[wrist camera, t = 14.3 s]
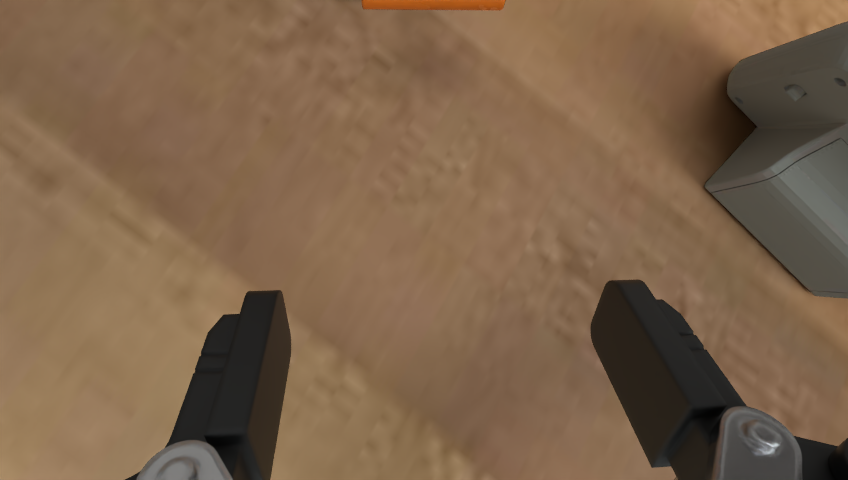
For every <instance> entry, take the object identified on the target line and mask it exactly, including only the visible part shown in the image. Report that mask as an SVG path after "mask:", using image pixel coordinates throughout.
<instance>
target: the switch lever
mask: <svg viewBox="0 0 848 480" xmlns="http://www.w3.org/2000/svg"><path fill="white" fill-rule="evenodd" d="M505 1H506V0H362V7H363V9H391V10H502V9H503V7H504V4H505Z"/></svg>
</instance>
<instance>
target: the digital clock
mask: <svg viewBox="0 0 848 480" xmlns="http://www.w3.org/2000/svg"><path fill="white" fill-rule="evenodd" d="M727 94H728V96H729V98H730V99H731V100H732V101H733V102H734V103H735V104H736V105H737V106H738V107H739V108H740V109H741V110H742V111H743V112H744V113H745V114H746V115H747V116H748V117H749V118H750V119H751V121H752V122H753V123H754V124H755V125H756V126H757V127H756V129H755V130H754V131H753V132H752V133H751V134H750V135H749V136H748V137H747V138H746V140H745V141H744V142H743V143H742V144H741V145H740V146H739V147H738V148H737V149H736V151H735V152H734V153H733V154H732V155H731V156H730V157H729V158H728V159H727V160H726V161H725V163H724V164H723V165H722V166H721V167H720V168H719V169H718V170H717V171H716V172H715V173H714V175H713V176H712V177H711V178H710V179H709V180H708V181H707V182H706V184H705V188H706V189H707V190H708V191H709V192H710V193H711V194H712V195H713V196H714V197H715V198H716V199H717V200H718V201H719V202H720V203H721V204H722V205H723V206H724V207H725V208H726V209H727V210H728V211H729V212H730V213H731V214H732V215H733V216H734V217H735V218H736V219H737V220H738V221H739V222H740V223H742V224H743V225H744V226H745V227H746V228H747V229H748V230H749V231H750V232H751V233H752V234H753V235H754V236H755V237H756V238H757V239H758V240H759V241H760V242H761V243H762V244H763V245H764V246H765V247H766V248H767V249H768V250H769V251H770V252H771V253H772V254H773V255H774V256H775V257H776V258H777V259H778V260H779V261H780V262H781V263H782V264H783V265H784V266H785V267H786V268H787V269H788V270H789V271H790V272H791V273H792V274H793V275H794V276H795V277H796V278H797V279H798V280H799V281H800V282H801V283H802V284H803V285H804V286H805V287H806V288H807V289H808V290H809V291H810V292H811V293H812V294H813V295H815V296H823V297H835V298H848V22H844V23H841V24H838V25H835V26H833V27H830V28H827V29H824V30H822V31H819V32H816V33H813V34H811V35H808V36H805V37H802V38H800V39H797V40H794V41H791V42H789V43H786V44H783V45H780V46H777V47H775V48H772V49H769V50H766V51H764V52H761V53H758V54H755V55H753V56H750V57H747V58H745V59H743V60H741V61H740V62H739V63H738V64H737V65H736V66H735V67H734V68H733V69H732V71H731V73H730V75H729V77H728V82H727Z"/></svg>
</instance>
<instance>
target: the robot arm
mask: <svg viewBox="0 0 848 480" xmlns="http://www.w3.org/2000/svg"><path fill="white" fill-rule="evenodd" d="M591 339H592V343H593V345H594V348H595V350H596V352H597V354H598V356H599V358H600V360H601V362H602V364H603V367H604V369H605V371H606V373H607V375H608V377H609V379H610V381H611V383H612V385H613V387H614V390H615V392H616V394H617V396H618V398H619V400H620V402H621V404H622V406H623V408H624V410H625V413H626V415H627V417H628V419H629V421H630V423H631V425H632V427H633V429H634V431H635V433H636V436H637V438H638V440H639V442H640V444H641V446H642V448H643V450H644V452H645V454H646V456H647V458H648V461H649V463H650V465H651V467H652V468H654V467H667V466H671V467H672V468H673V470H674V472H675V474H676V478H675V479H674V480H848V438H847V439H846V440H845V441H844V442H843V443H842V444H840V445H839V446H834V445H829V444H825V443H821V442H817V441H813V440H808V439H804V438H800V437H796V436H793V435H792V434H791V433H790V431H789V430H788V429H787V428H786V427H785V426H784V425H783V424H781V423H780V422H779V421H778V420H776V419H775V418H773V417H772V416H770V415H768V414H766V413H764V412H762V411H760V410H757V409H754V408H750V407H747V406H746V404H745V403H744V402H743V400H742V399H741V398H740V396H739V395H738V393H737V392H736V391H735V389H734V388H733V386H732V385H731V384H730V382H729V381H728V379H727V378H726V377H725V375H724V374H723V372H722V371H721V370H720V368H719V367H718V365H717V364H716V363H715V361H714V360H713V358H712V357H711V356H710V354H709V353H708V351H707V350H704V348H703V344H702V343H701V342H700V340H699V339H698V337H697V336H696V335H694V334H693V330H692V329H691V328H690V326H689V325H688V323H687V322H686V321H685V319H684V318H683V316H682V315H681V314H680V313H679V312H677V311H676V310H675V309H674V308H672V307H671V306H670V305H669V304H667V303H666V302H665V301H664V300H656V299H655V297H654V296H653V294H652V293H651V291H650V290H649V289H648V287H647V286H646V284H645V283H644V282H643V281H641V280H612V281H608V282H607V283H606V285H605V287H604V290H603V292H602V295H601V298H600V300H599V303H598V306H597V308H596V311H595V314H594V316H593V319H592V322H591ZM290 357H291V335H290V329H289V324H288V319H287V314H286V308H285V303H284V298H283V294H282V292H281V290H273V291H248V292H247V293H246V295H245V298H244V302H243V305H242V308H241V312H240V314H228V315H223V316H222V317H221V318H220V320H219V321H218V322H217V323H216V324H215V325H214V326H213V327H212V329H211V330H210V331H209V332H208V334H207V337H206V340H205V343H204V346H203V348H202V351H201V356H200V357H199V360H198V362H197V365H196V368H195V373H194V374H193V376H192V379H191V382H190V385H189V388H188V390H187V393H186V396H185V399H184V402H183V404H182V407H181V410H180V413H179V416H178V418H177V421H176V424H175V427H174V430H173V432H172V435H171V437H170V440H169V442H168V443H167V445H166V447H165V448H164V449H163V450H161V451H160V452H158V453H157V454H156V455H155V456H153V457H152V458H151V459H150V460H149V461H148V462H147V464H146V465H145V466H144V467H143V469H142V470H141V471H140V472H139V473H137V474H135V475H133V476H132V477H130V478H127V479H125V480H270V477H271V471H272V465H273V459H274V453H275V447H276V441H277V435H278V429H279V423H280V417H281V411H282V405H283V399H284V393H285V387H286V381H287V375H288V369H289V363H290Z"/></svg>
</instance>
